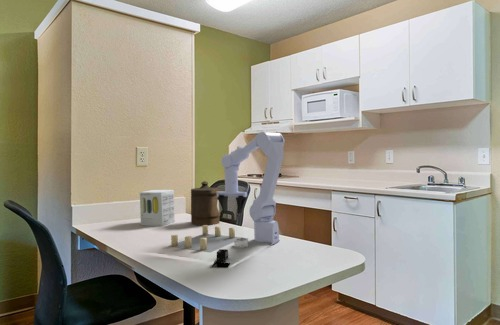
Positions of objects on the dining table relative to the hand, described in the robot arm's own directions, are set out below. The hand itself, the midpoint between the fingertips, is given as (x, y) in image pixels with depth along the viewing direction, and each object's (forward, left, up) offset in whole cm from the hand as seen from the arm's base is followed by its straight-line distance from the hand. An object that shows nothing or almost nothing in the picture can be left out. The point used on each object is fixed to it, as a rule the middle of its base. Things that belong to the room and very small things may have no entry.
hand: (232, 212), depth 154 cm
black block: (-18, +36, -11) cm, 42 cm away
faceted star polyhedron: (-15, +18, -10) cm, 25 cm away
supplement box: (+52, -9, -10) cm, 54 cm away
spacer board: (+1, +18, -10) cm, 21 cm away
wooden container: (+29, -20, -10) cm, 36 cm away
